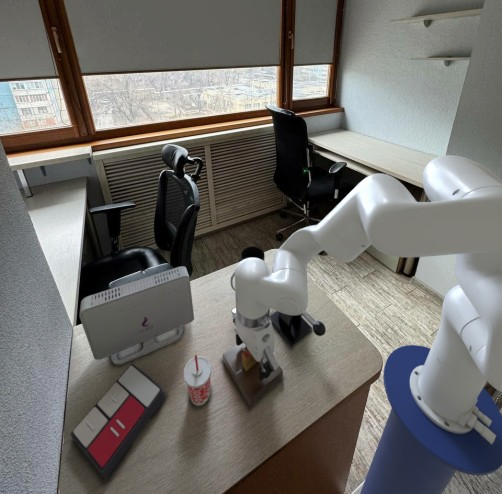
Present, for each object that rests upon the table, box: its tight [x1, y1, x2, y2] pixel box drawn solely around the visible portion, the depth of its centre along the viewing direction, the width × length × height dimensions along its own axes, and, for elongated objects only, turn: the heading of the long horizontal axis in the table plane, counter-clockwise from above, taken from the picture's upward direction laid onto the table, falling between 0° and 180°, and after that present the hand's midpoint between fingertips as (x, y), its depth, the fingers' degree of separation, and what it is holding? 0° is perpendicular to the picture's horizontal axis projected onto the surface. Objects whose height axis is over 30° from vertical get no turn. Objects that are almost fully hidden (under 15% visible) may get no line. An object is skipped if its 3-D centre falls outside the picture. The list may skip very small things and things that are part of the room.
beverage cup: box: [183, 354, 212, 406], centre depth 61 cm, size 6×6×14 cm
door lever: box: [302, 310, 326, 337], centre depth 72 cm, size 13×3×3 cm, turn 36°
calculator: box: [70, 363, 166, 479], centre depth 58 cm, size 11×4×15 cm
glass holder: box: [230, 246, 266, 292], centre depth 86 cm, size 9×14×15 cm, turn 139°
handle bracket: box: [269, 310, 313, 348], centre depth 77 cm, size 10×8×12 cm
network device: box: [79, 265, 195, 366], centre depth 72 cm, size 26×9×20 cm, turn 116°
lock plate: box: [222, 343, 284, 407], centre depth 68 cm, size 12×10×3 cm
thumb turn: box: [242, 349, 258, 371], centre depth 66 cm, size 5×2×5 cm, turn 127°
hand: (252, 357), depth 67 cm, fingers open, 9 cm apart
